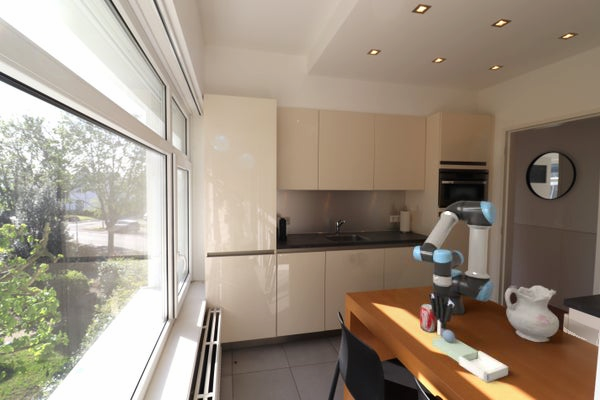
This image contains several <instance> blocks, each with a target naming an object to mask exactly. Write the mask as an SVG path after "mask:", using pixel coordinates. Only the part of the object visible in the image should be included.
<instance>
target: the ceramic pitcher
mask: <svg viewBox="0 0 600 400" xmlns="http://www.w3.org/2000/svg"><path fill="white" fill-rule="evenodd" d="M504 292H505V293H504V299H505V303H506V304H505V305H506V306H507V308H506V311H505V312H506V313H505V315H506V317H507V319H508V321H509V323H510V324H511V326H512V327H513V328H514V329H515V334H516V335H518V336H519V337H521V338H522V339H524V340H525V339H526V340H528V341H530V342H531V341H532V342H535V343H541V342H542V343H546V342H549V341H550V340H551V339H550V338H551V337H553V336H554V335H556V333H557V332H558V330H559V327H560V320H559V319H558V317H557V315H555V314H554V313H553V312H552V311H551V310H550V309H549V307H548V304H549V302H550V300H551V299H552V297H553V296H554V295H556V294H557V290H554V289H552V288H551V289H549V288H546V287H544V286H543V285H533V286H531V287H530V288H528V287H524V286H520V287H519V288H518V287H517V285H510V286H508V288H507V289H506V291H504ZM512 294H515V297H516V302H515V303H512V301H511V295H512Z"/></svg>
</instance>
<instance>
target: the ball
mask: <svg viewBox="0 0 600 400" xmlns="http://www.w3.org/2000/svg"><path fill="white" fill-rule="evenodd" d="M442 336H443V338H444V340H446V341H447V342H453V341H454V339H455V338H456V336H455V333H454V332H453V331H452V330H451V329H445V330H444V331H443V333H442V335H441V337H442Z"/></svg>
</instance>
